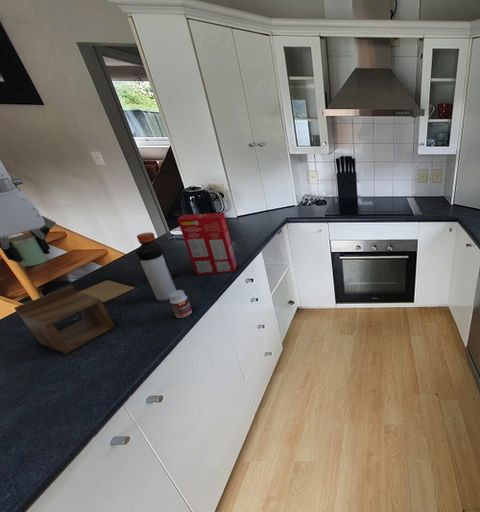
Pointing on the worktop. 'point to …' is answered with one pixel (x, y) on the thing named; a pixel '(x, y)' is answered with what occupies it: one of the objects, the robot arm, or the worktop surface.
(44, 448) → the worktop surface
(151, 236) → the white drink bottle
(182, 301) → the pill bottle
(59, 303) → the shelf unit
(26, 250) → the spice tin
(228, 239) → the food packaging
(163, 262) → the travel mug
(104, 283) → the cork mat
